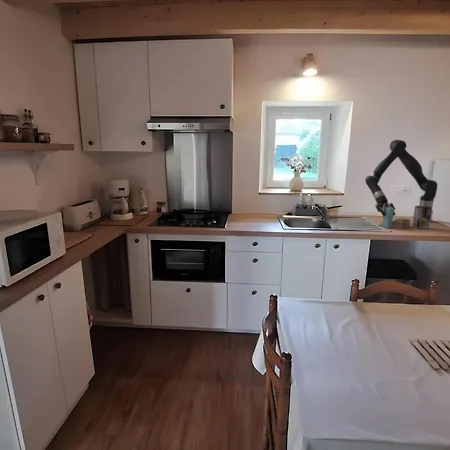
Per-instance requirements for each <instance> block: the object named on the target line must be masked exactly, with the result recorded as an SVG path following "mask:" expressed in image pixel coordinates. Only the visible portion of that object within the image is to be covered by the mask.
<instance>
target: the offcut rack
mask: <svg viewBox="0 0 450 450" xmlns="http://www.w3.org/2000/svg"><path fill="white" fill-rule="evenodd" d="M410 222H411V219H410V218H404V217H403V218H396V219H393V220H392V226H394V227H396V229H397V228H398V229H402V228H403V229H405V228H406V229H407V228H411V224H410Z"/></svg>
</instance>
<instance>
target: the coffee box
mask: <svg viewBox="0 0 450 450" xmlns="http://www.w3.org/2000/svg"><path fill="white" fill-rule="evenodd" d="M431 209H432V210H433V207H432V208H431V207H429V206H419V205H415V206H414V211H413V212H414V213H413V217H412V218H413V219H412V220H413V221H412V228H414V229H416V230H417V229H419V230H421V229H422V230H423V229H424V230H429V228H430V216H431Z"/></svg>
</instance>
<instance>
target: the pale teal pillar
mask: <svg viewBox="0 0 450 450" xmlns="http://www.w3.org/2000/svg"><path fill="white" fill-rule="evenodd" d="M383 211H384V212H385V214H386V216H383V215H382V221H381V222H382V223H381V225H383V226H386V227H392V221H394V219H393V218H394V216H393V213H394V212H395V210H394V208H390V207H385V208H384V210H383Z"/></svg>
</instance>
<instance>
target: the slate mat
mask: <svg viewBox="0 0 450 450" xmlns="http://www.w3.org/2000/svg"><path fill="white" fill-rule="evenodd" d="M377 226H378V227H380V226H381V228H384V229H388V230H390V229H397V227H394V226H392V227H386V226H383V225H382V224H377Z"/></svg>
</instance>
